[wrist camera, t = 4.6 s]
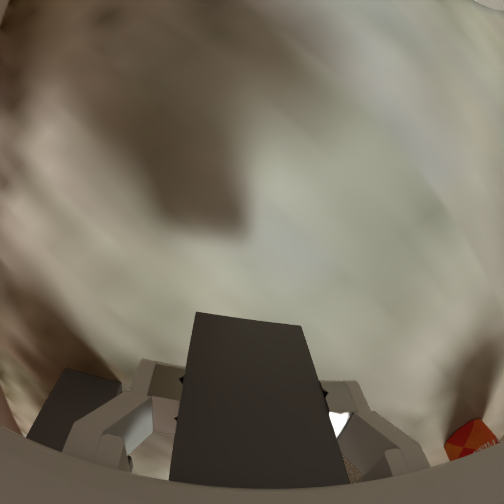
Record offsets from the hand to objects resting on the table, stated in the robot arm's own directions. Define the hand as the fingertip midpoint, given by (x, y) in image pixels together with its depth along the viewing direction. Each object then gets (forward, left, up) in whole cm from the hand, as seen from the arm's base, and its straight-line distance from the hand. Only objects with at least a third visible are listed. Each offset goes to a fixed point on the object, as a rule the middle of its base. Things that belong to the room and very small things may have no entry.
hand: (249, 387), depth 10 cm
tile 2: (+9, -9, -8) cm, 15 cm away
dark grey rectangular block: (0, 0, -3) cm, 3 cm away
